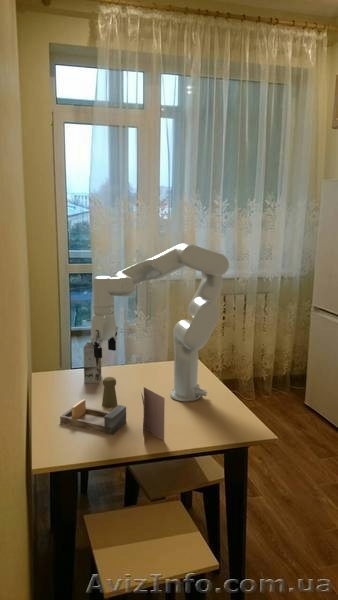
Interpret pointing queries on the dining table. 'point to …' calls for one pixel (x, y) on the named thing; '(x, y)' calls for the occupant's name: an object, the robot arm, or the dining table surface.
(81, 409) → the pusher
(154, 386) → the dining table surface
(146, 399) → the greeting card
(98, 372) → the coffee box
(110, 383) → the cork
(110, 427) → the lane
